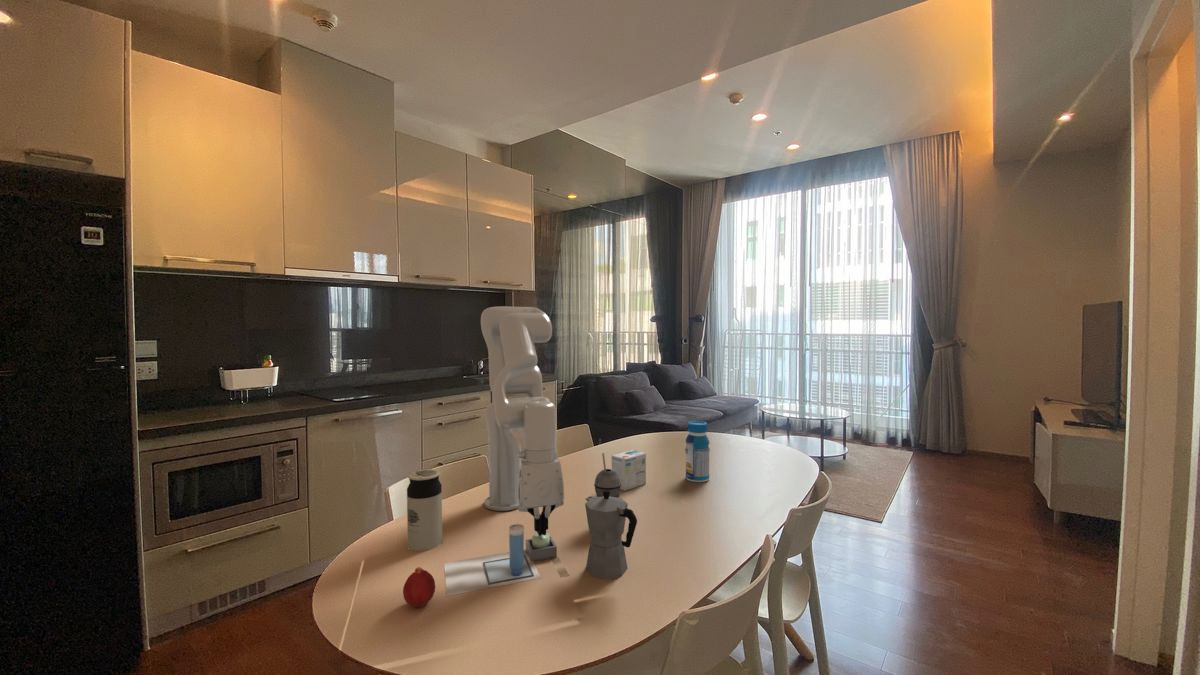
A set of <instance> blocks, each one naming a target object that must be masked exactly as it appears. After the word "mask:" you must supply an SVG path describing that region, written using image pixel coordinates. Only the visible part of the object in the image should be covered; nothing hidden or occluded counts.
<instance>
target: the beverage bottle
mask: <svg viewBox="0 0 1200 675" xmlns="http://www.w3.org/2000/svg"><path fill="white" fill-rule="evenodd" d="M687 432H688V434H687V437H686V438H685V443H686V446H685V448H684V451H685V478H686V479H687V481H690V482H692V483H693V482H694V483H705V481H706V482H708V481H709V480H710V452H711V451H710V447H709V445H710V439H709V437H708V436H707V432H708V423H707V422H706V421H700V420H692V421H688V422H687Z"/></svg>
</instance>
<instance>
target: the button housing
mask: <svg viewBox="0 0 1200 675" xmlns="http://www.w3.org/2000/svg"><path fill="white" fill-rule="evenodd" d="M549 536H550V547H545V548H539V549H533V548H532V538H529V539H527V538H526V539H525V549H526V552H527V554H528V556H529V558H530V561H531V562H534V563H535V562H539V561H544V560H546V561H547V560H551V559H552V558H557V555H558V552H557V549H558V546H557V544H556V543H555V541H554V540H553V537H552V535H549Z"/></svg>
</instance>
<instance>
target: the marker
mask: <svg viewBox="0 0 1200 675" xmlns="http://www.w3.org/2000/svg"><path fill="white" fill-rule="evenodd" d="M508 534H509V535H508V536H509V541H508V542H509V547H508V548H509V551H508V552H509V555H510V568H511V575H512V576H520V575H521V574H522V567H523V566H524V549H525V548H524V544H525V543H524V538H525V537H524V534H525V528H524V525H523V524H519V523H516V524H511V525H510V526H508Z"/></svg>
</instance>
